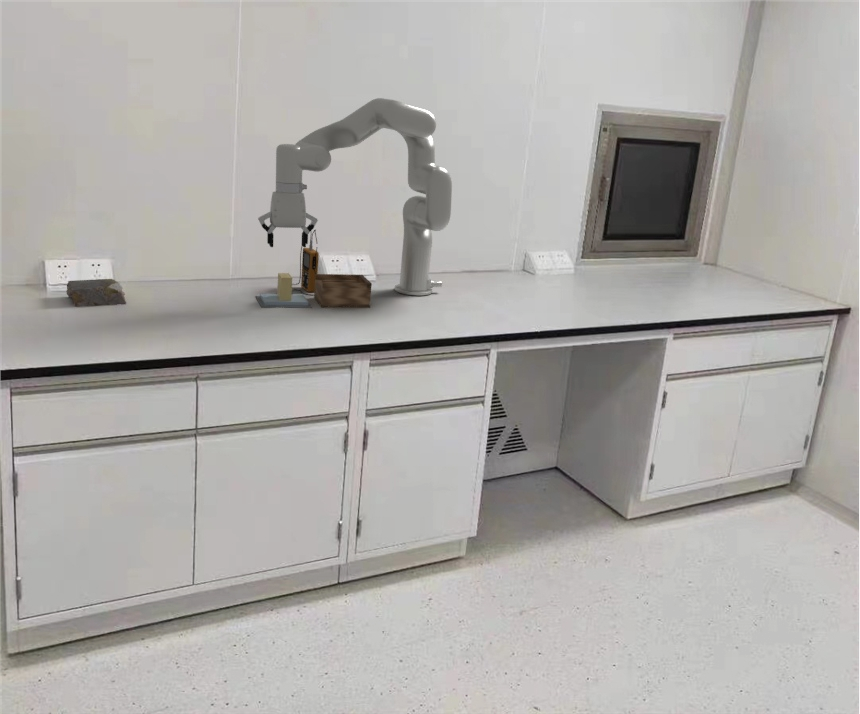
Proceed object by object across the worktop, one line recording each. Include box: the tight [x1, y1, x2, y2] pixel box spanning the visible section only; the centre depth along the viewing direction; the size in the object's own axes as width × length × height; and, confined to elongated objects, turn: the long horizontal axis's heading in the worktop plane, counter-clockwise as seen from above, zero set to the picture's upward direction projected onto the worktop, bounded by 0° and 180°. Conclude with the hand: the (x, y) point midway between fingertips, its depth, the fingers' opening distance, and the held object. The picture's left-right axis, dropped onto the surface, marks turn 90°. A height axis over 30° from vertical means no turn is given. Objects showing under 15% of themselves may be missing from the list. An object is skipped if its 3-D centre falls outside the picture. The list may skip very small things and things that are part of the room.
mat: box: [255, 295, 313, 309], centre depth 260 cm, size 15×12×1 cm
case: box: [313, 273, 373, 309], centre depth 265 cm, size 15×11×8 cm
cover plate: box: [259, 272, 310, 305], centre depth 259 cm, size 13×9×8 cm
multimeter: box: [292, 229, 320, 296], centre depth 273 cm, size 15×10×20 cm
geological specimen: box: [66, 278, 127, 308], centre depth 242 cm, size 11×6×15 cm
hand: (287, 246), depth 255 cm, fingers open, 9 cm apart
